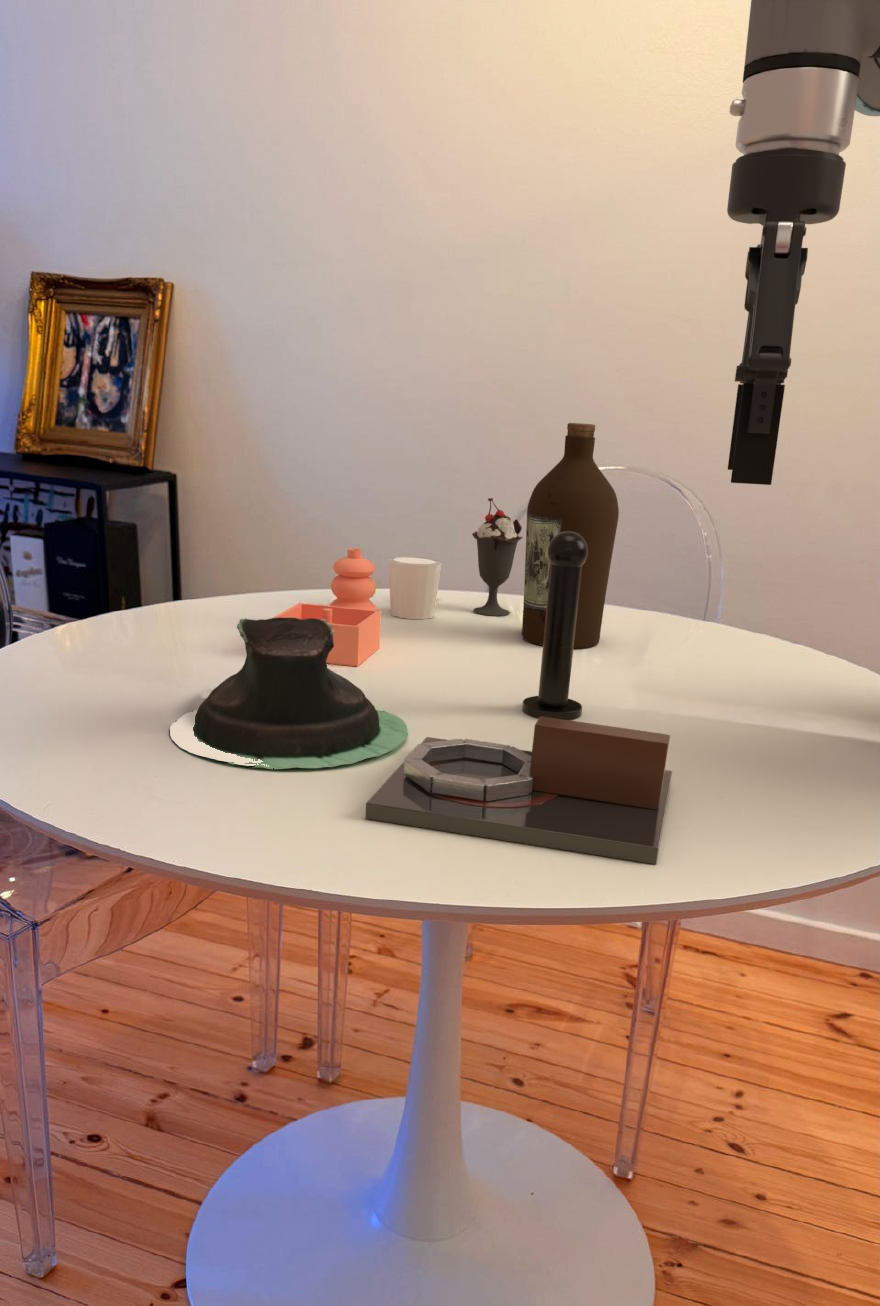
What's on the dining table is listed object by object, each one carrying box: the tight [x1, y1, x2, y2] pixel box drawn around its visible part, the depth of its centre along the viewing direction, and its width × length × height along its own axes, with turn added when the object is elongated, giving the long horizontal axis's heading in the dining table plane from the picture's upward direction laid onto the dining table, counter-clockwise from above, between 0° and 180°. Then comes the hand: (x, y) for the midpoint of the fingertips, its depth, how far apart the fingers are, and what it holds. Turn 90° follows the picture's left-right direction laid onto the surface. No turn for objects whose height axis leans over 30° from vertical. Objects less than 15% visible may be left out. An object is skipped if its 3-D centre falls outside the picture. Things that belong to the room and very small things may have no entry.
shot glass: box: [388, 556, 443, 620], centre depth 139 cm, size 7×7×7 cm
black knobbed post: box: [521, 531, 588, 721], centre depth 100 cm, size 6×6×17 cm
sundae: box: [471, 497, 524, 617], centre depth 142 cm, size 7×7×15 cm
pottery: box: [272, 547, 382, 667], centre depth 121 cm, size 18×10×10 cm, turn 168°
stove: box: [365, 736, 673, 865], centre depth 80 cm, size 20×16×1 cm
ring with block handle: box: [404, 716, 671, 810], centre depth 79 cm, size 19×10×5 cm, turn 75°
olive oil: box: [521, 422, 620, 649], centre depth 127 cm, size 11×11×25 cm
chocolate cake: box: [193, 616, 409, 770], centre depth 91 cm, size 15×19×20 cm
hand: (747, 476), depth 82 cm, fingers open, 13 cm apart
